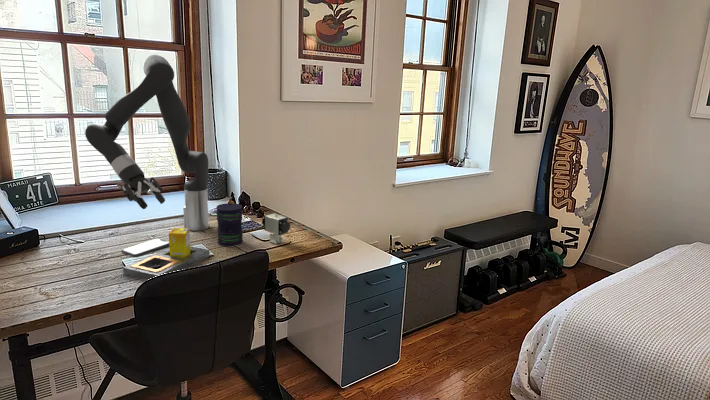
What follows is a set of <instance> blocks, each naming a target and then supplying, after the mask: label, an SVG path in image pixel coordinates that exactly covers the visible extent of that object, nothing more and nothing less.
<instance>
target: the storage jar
mask: <svg viewBox="0 0 710 400" xmlns="http://www.w3.org/2000/svg"><path fill="white" fill-rule="evenodd" d="M242 220H243V206H242V204H239V203H233V202H231V203H228V202H227V203H226V202H225V203H221V204H217V205H216V221H217V231H216V232H217V233H216V236H217V245H219V246H221V247H226V248H227V247H229V248H230V247H232V248H233V247H237V246H240V245H242V244H243V237H244V235H243V226H242V225H243V224H242Z"/></svg>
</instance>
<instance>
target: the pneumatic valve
mask: <svg viewBox="0 0 710 400" xmlns="http://www.w3.org/2000/svg"><path fill="white" fill-rule="evenodd" d="M261 224H262V226H263V231H265V232H270V234H269V243H272V244H275V245H277V244H279V243H280V244H281V243H283V236H282V235H284V234H287V233H289V231H290V229H291V224H290V222H289V217H286V216H284V215H281V214H280V215H279V214H278V213H273V212H272V213H268V214H265V215H263V218H262V220H261Z"/></svg>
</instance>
